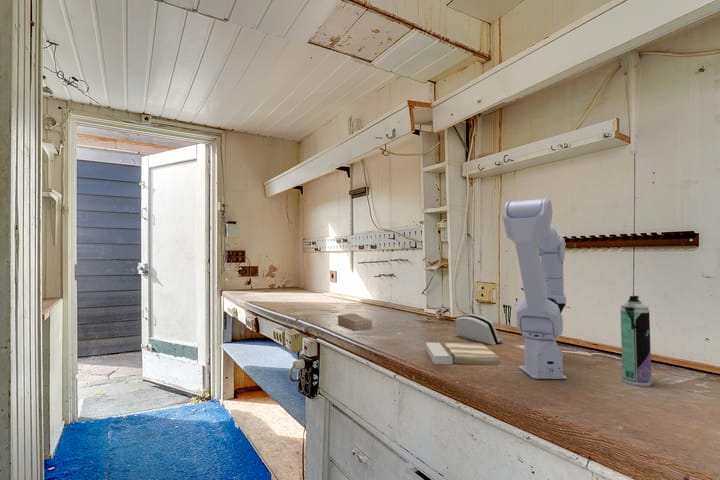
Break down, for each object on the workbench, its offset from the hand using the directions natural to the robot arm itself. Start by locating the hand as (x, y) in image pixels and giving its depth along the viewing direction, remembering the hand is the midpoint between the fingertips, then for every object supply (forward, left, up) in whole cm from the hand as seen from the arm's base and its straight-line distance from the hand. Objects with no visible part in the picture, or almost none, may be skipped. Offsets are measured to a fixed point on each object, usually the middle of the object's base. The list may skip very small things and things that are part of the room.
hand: (553, 326), depth 108 cm
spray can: (-19, -10, -10) cm, 24 cm away
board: (+3, +32, -9) cm, 33 cm away
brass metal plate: (+3, +23, -9) cm, 25 cm away
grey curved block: (+25, +15, -10) cm, 31 cm away
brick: (+49, +58, -10) cm, 77 cm away
